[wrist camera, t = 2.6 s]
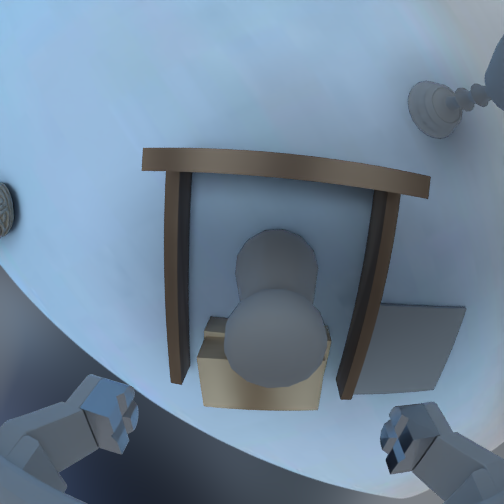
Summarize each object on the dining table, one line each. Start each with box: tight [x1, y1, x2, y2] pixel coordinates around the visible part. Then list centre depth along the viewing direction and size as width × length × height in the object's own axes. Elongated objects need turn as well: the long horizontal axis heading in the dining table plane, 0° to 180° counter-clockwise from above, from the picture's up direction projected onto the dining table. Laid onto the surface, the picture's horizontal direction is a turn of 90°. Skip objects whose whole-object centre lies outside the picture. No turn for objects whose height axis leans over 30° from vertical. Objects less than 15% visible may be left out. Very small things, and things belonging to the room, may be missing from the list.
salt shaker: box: [224, 229, 327, 388], centre depth 17 cm, size 6×6×13 cm
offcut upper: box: [197, 336, 325, 411], centre depth 22 cm, size 9×5×3 cm, turn 91°
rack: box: [142, 148, 431, 400], centre depth 20 cm, size 16×19×8 cm
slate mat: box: [353, 304, 467, 394], centre depth 25 cm, size 10×10×1 cm
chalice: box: [408, 35, 504, 139], centre depth 10 cm, size 7×7×18 cm
